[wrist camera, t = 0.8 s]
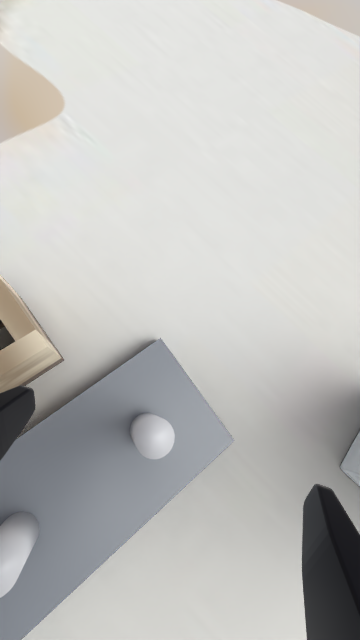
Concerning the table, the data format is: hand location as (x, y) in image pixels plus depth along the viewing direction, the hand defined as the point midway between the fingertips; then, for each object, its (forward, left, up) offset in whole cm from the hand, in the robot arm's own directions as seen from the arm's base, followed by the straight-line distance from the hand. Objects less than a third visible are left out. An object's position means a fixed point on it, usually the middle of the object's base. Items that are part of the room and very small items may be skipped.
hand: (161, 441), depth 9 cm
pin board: (-5, -2, -15) cm, 16 cm away
